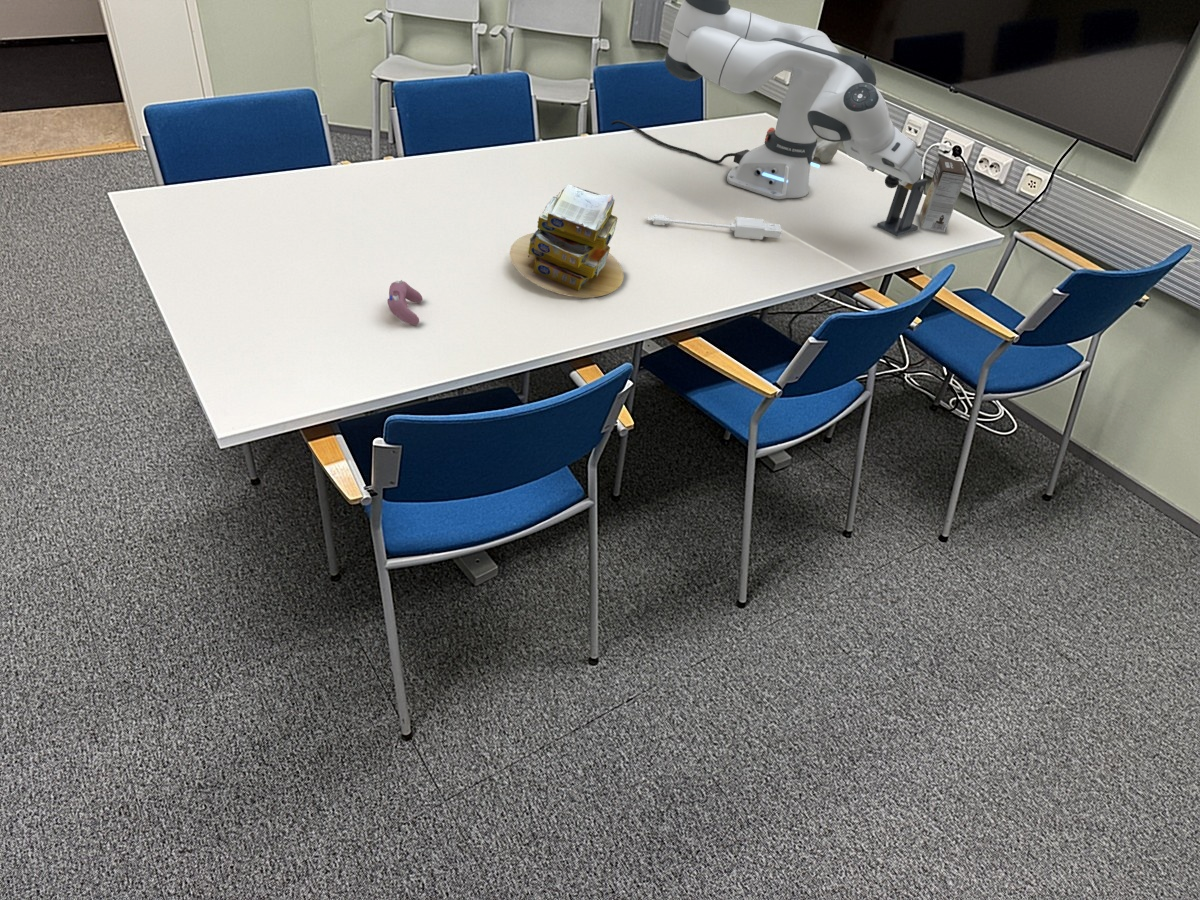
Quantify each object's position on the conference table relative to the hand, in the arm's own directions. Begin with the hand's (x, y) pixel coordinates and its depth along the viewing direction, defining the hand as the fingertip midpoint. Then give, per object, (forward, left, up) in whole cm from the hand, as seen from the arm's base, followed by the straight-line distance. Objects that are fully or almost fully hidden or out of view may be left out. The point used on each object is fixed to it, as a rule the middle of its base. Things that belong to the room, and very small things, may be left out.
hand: (888, 175), depth 210 cm
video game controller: (-78, -91, -16) cm, 121 cm away
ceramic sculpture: (-23, +49, -16) cm, 57 cm away
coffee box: (+14, +19, -16) cm, 29 cm away
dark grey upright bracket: (+6, +10, -16) cm, 20 cm away
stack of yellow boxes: (-58, -58, -16) cm, 83 cm away
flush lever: (+3, +6, -5) cm, 8 cm away
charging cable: (-35, -19, -16) cm, 43 cm away
